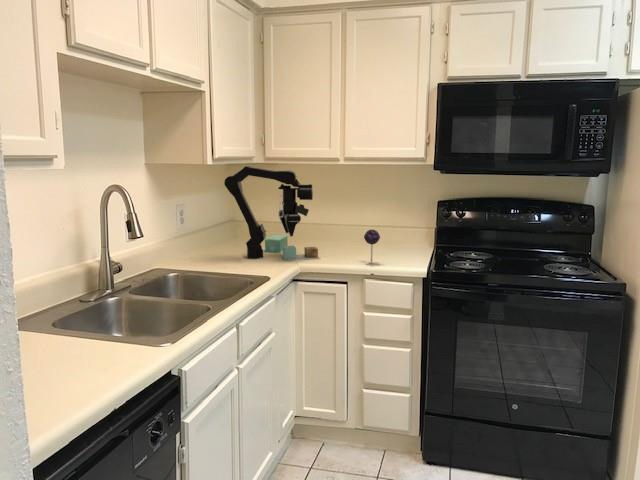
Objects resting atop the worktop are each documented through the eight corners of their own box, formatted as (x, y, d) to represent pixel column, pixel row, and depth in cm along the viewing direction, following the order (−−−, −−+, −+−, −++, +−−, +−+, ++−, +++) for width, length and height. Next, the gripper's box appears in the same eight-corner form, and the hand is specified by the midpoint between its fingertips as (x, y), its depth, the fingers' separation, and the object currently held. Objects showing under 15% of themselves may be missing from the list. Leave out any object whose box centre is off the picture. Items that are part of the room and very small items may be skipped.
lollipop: (381, 263, 233) (382, 229, 231) (375, 266, 228) (376, 231, 225) (367, 261, 237) (368, 227, 234) (360, 264, 231) (361, 229, 228)
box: (264, 254, 252) (264, 238, 251) (273, 249, 265) (273, 234, 264) (279, 255, 250) (279, 239, 249) (287, 250, 263) (287, 235, 262)
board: (285, 263, 232) (285, 260, 232) (280, 257, 244) (280, 255, 244) (321, 261, 237) (321, 259, 236) (314, 255, 248) (314, 253, 248)
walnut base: (307, 258, 238) (307, 249, 238) (304, 255, 243) (304, 247, 242) (317, 257, 240) (317, 248, 239) (315, 255, 244) (315, 246, 244)
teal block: (285, 259, 236) (285, 248, 235) (282, 257, 240) (282, 246, 240) (296, 258, 237) (296, 247, 236) (293, 256, 242) (293, 245, 241)
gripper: (312, 201, 228) (312, 237, 230) (302, 197, 245) (302, 230, 248) (286, 201, 225) (286, 238, 227) (278, 197, 242) (278, 231, 245)
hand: (289, 234), depth 237 cm, fingers open, 9 cm apart
